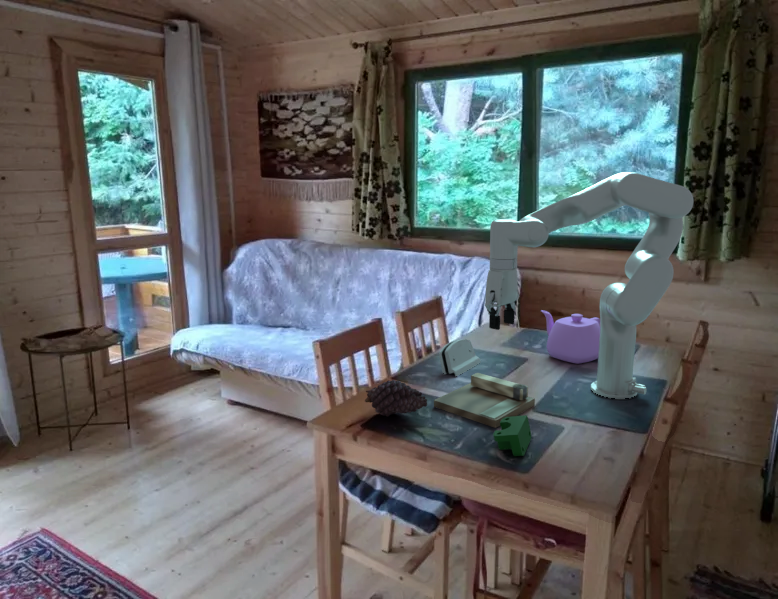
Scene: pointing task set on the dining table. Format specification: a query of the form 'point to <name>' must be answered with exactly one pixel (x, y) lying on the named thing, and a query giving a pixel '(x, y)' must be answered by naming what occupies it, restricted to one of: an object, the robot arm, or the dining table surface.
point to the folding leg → (499, 386)
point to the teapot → (573, 338)
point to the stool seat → (482, 405)
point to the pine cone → (395, 398)
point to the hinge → (458, 357)
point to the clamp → (514, 434)
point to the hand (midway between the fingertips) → (501, 325)
